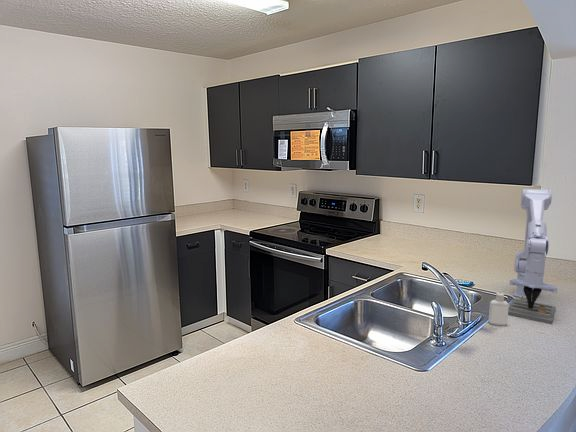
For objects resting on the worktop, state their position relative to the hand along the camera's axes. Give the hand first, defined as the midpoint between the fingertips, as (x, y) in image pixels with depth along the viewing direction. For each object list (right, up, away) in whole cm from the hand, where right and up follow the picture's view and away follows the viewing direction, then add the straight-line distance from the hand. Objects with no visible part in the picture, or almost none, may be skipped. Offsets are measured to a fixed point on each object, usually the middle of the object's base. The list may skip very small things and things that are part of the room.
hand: (530, 307), depth 146 cm
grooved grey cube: (+1, 0, +8) cm, 8 cm away
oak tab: (+3, -2, -2) cm, 4 cm away
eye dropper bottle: (-15, -4, -7) cm, 17 cm away
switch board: (+2, -2, +3) cm, 5 cm away
